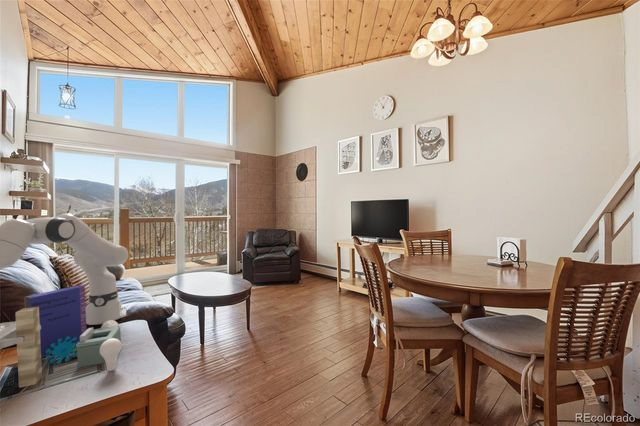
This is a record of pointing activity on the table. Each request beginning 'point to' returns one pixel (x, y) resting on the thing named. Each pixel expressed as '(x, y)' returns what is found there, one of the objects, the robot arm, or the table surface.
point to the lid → (89, 334)
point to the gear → (63, 350)
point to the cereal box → (59, 315)
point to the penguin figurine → (109, 324)
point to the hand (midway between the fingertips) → (32, 333)
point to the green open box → (92, 353)
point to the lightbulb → (110, 352)
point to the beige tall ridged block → (28, 346)
